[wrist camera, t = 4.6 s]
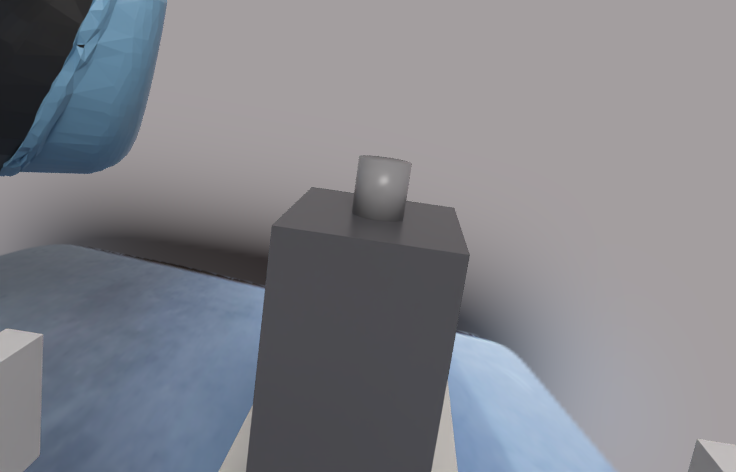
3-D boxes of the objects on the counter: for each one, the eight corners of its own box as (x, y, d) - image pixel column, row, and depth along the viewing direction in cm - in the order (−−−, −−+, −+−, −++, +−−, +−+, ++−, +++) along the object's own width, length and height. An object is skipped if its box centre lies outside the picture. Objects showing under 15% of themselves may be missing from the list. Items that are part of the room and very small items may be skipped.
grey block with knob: (397, 658, 17) (481, 189, 14) (228, 629, 17) (278, 160, 15) (402, 514, 23) (462, 160, 20) (275, 493, 23) (317, 139, 20)
